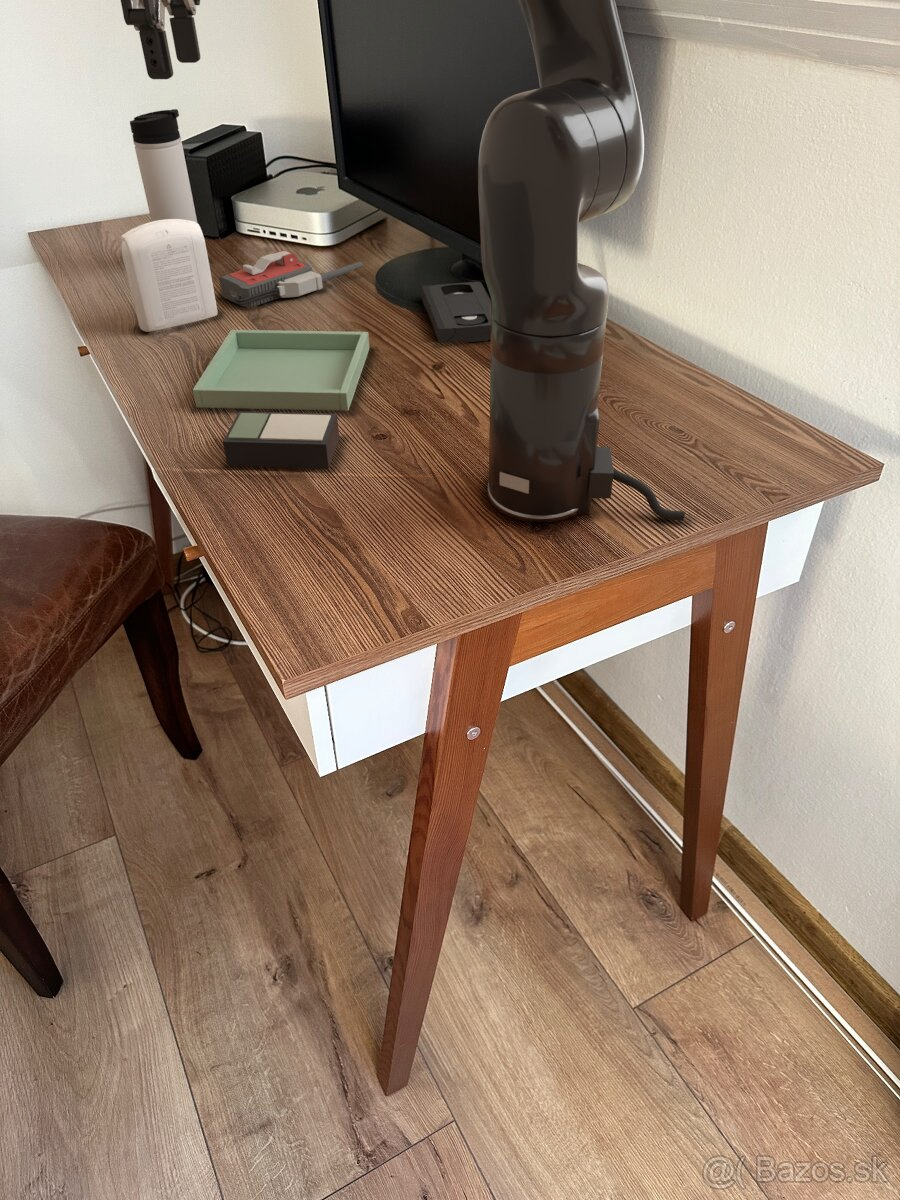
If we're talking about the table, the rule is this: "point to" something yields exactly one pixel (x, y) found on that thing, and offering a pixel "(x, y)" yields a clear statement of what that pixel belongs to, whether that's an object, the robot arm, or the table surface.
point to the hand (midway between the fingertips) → (176, 70)
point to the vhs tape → (458, 311)
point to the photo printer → (168, 273)
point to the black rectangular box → (282, 440)
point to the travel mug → (163, 165)
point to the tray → (284, 370)
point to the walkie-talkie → (275, 279)
